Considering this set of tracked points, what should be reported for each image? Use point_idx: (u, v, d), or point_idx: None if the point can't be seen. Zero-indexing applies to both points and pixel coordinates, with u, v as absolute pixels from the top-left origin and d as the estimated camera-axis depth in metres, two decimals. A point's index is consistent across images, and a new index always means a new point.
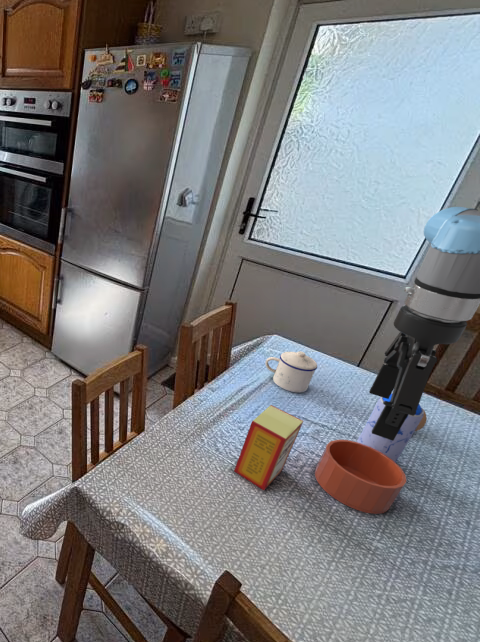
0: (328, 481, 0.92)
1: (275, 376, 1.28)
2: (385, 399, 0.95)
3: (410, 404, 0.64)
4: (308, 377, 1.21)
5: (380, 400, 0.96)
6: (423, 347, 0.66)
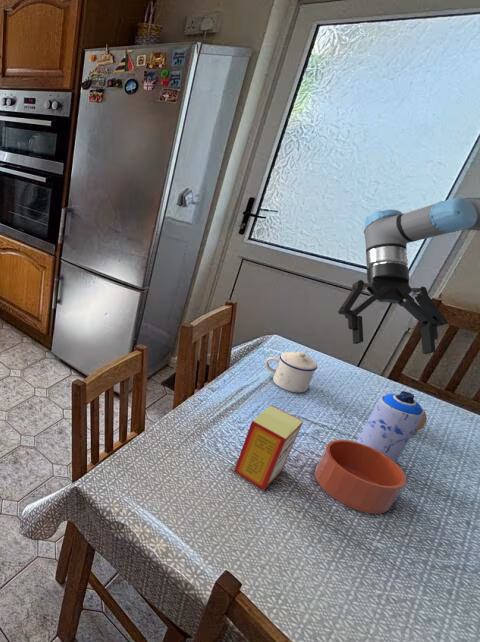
0: (328, 481, 0.92)
1: (275, 376, 1.28)
2: (385, 399, 0.95)
3: (343, 306, 1.05)
4: (308, 377, 1.21)
5: (380, 400, 0.96)
6: (370, 283, 1.05)
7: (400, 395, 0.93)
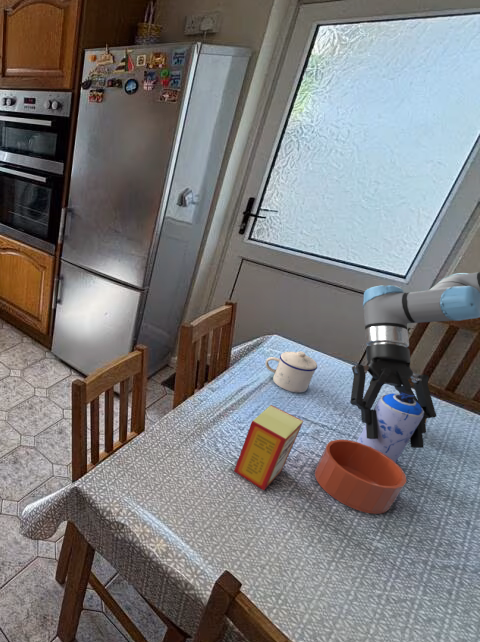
0: (328, 481, 0.92)
1: (275, 376, 1.28)
2: (385, 399, 0.95)
3: (354, 397, 0.99)
4: (308, 377, 1.21)
5: (380, 400, 0.96)
6: (369, 363, 1.01)
7: (400, 395, 0.93)
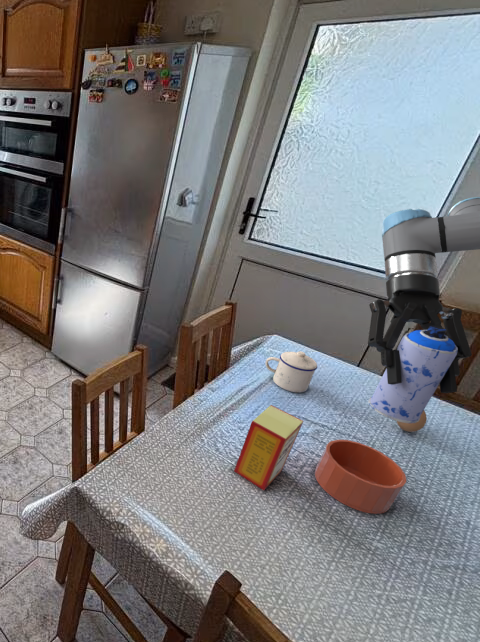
0: (328, 481, 0.92)
1: (275, 376, 1.28)
2: (410, 336, 0.80)
3: (373, 336, 0.84)
4: (308, 377, 1.21)
5: (404, 338, 0.81)
6: (390, 298, 0.86)
7: (429, 330, 0.78)
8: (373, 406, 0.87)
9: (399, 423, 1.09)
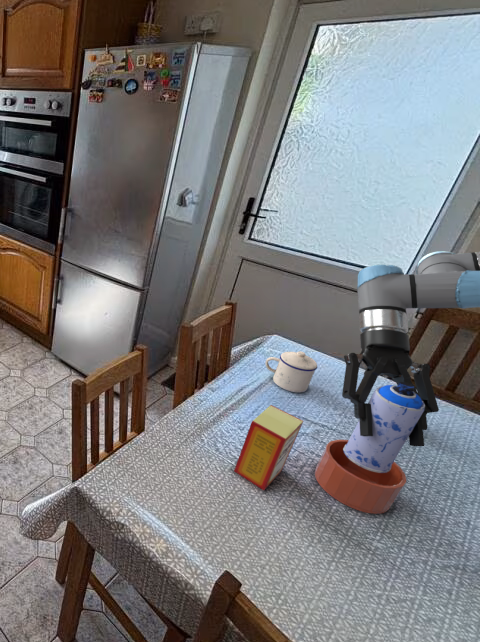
0: (328, 481, 0.92)
1: (275, 376, 1.28)
2: (381, 391, 0.84)
3: (346, 389, 0.88)
4: (308, 377, 1.21)
5: (375, 393, 0.85)
6: (363, 351, 0.90)
7: (398, 387, 0.82)
8: (347, 454, 0.91)
9: None
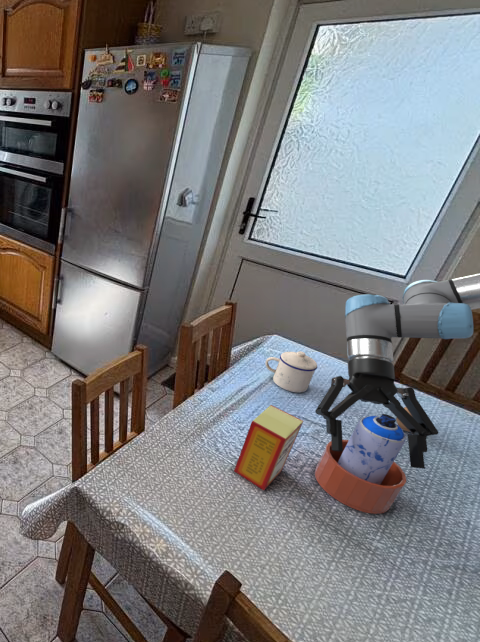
0: (328, 481, 0.92)
1: (275, 376, 1.28)
2: (365, 422, 0.88)
3: (321, 406, 0.93)
4: (308, 377, 1.21)
5: (359, 423, 0.89)
6: (351, 379, 0.93)
7: (380, 418, 0.86)
8: None
9: (399, 423, 1.09)
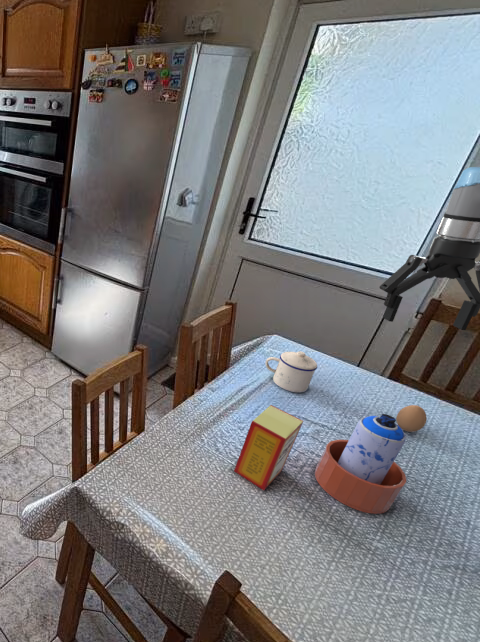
0: (328, 481, 0.92)
1: (275, 376, 1.28)
2: (365, 422, 0.88)
3: (387, 284, 0.99)
4: (308, 377, 1.21)
5: (359, 423, 0.89)
6: (430, 257, 0.95)
7: (380, 418, 0.86)
8: None
9: (399, 423, 1.09)
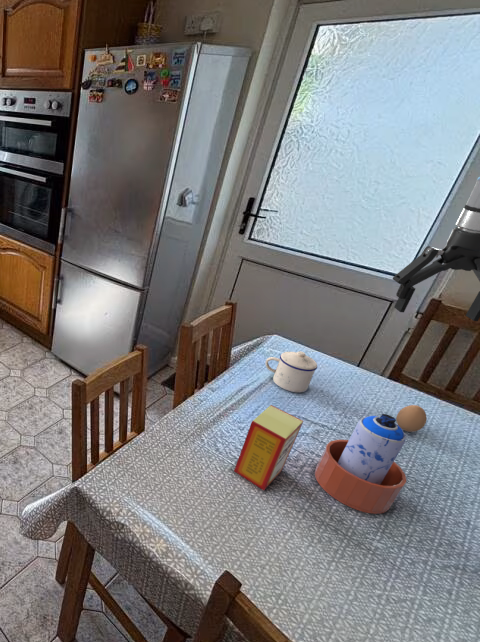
0: (328, 481, 0.92)
1: (275, 376, 1.28)
2: (365, 422, 0.88)
3: (401, 275, 0.99)
4: (308, 377, 1.21)
5: (359, 423, 0.89)
6: (446, 248, 0.94)
7: (380, 418, 0.86)
8: None
9: (399, 423, 1.09)
